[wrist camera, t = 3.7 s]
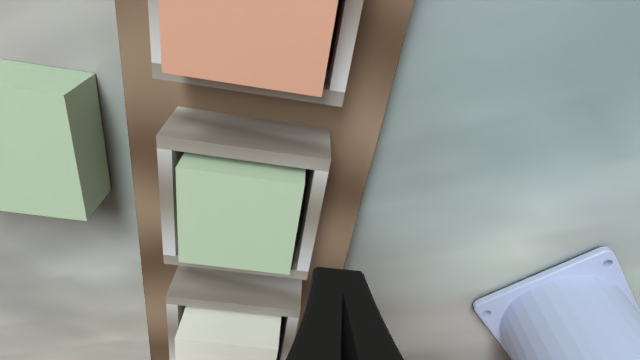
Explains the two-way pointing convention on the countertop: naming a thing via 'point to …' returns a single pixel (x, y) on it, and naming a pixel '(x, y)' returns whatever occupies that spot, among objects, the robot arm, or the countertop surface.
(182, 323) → the cream button
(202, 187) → the sage button
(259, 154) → the button console
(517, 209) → the countertop surface
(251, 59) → the terracotta button
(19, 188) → the block
